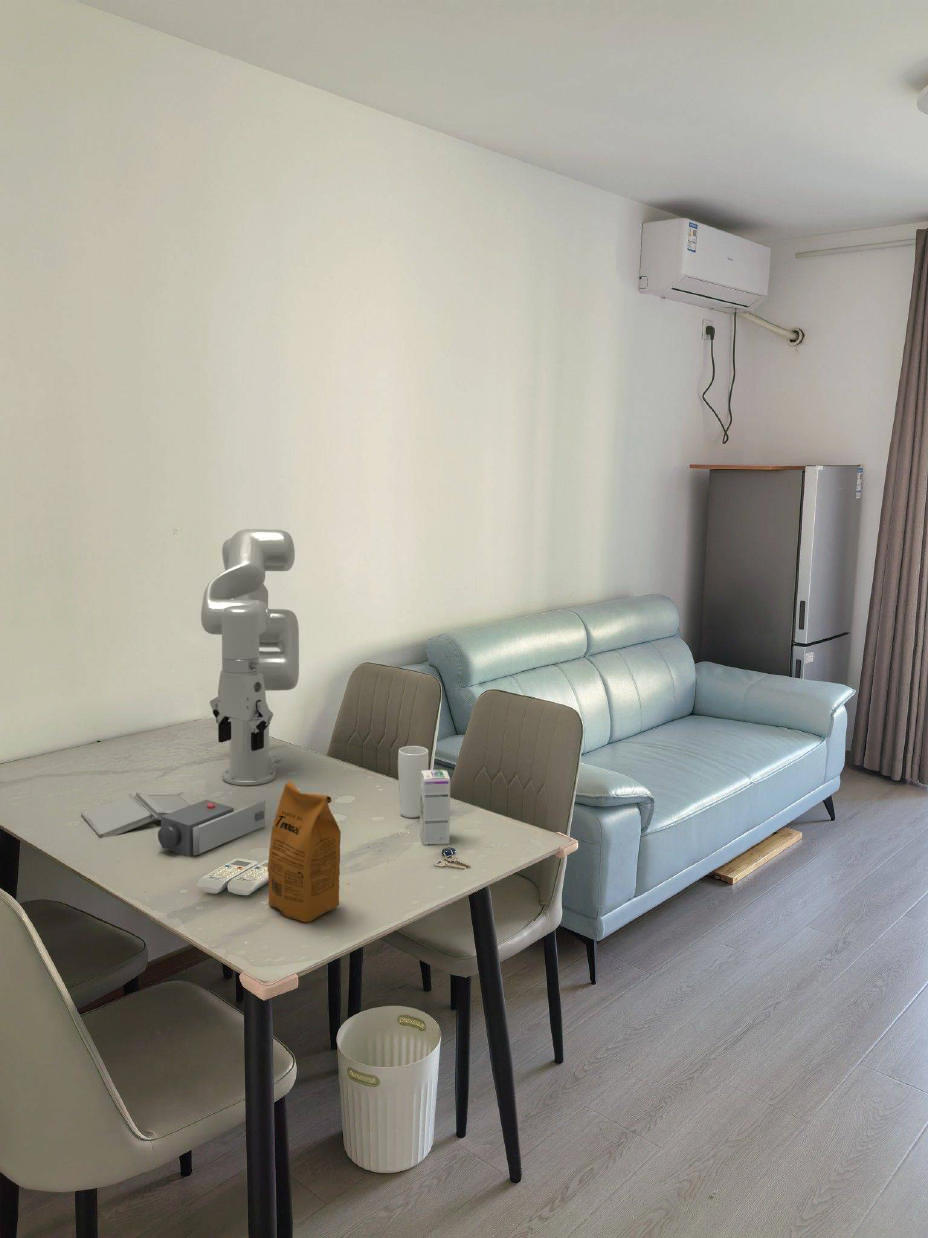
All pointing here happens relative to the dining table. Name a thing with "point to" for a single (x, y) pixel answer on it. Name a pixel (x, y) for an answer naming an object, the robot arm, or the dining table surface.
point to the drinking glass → (411, 778)
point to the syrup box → (435, 807)
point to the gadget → (133, 811)
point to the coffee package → (304, 856)
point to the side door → (228, 827)
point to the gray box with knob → (188, 824)
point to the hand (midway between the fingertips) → (241, 745)
